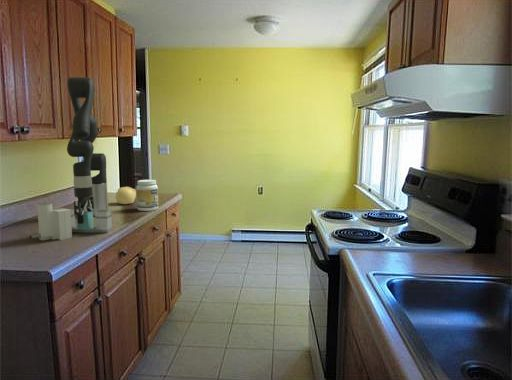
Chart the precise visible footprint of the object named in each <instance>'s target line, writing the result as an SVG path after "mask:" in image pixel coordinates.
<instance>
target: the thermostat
mask: <svg viewBox="0 0 512 380" xmlns="http://www.w3.org/2000/svg"><path fill="white" fill-rule="evenodd" d="M36 211H37V220H38V221H37V223H38V231H37V232H38V233H37V234H33V235H29V239H35V238H39V241H47V240H60V241H63V240H68V239H73V232H72V228H71V214H70V210H69V208H64V207H61V206H53V203H52V202H42V203H37V204H36Z"/></svg>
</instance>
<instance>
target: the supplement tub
mask: <svg viewBox="0 0 512 380" xmlns="http://www.w3.org/2000/svg"><path fill="white" fill-rule="evenodd" d="M136 184H137V185H136V187H135V190H136V197H135V199H136V209H137V210H138V211H141V212H152V211H156V210H159V187H158V185H157V180H156V179H140V180H137V183H136Z"/></svg>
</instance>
